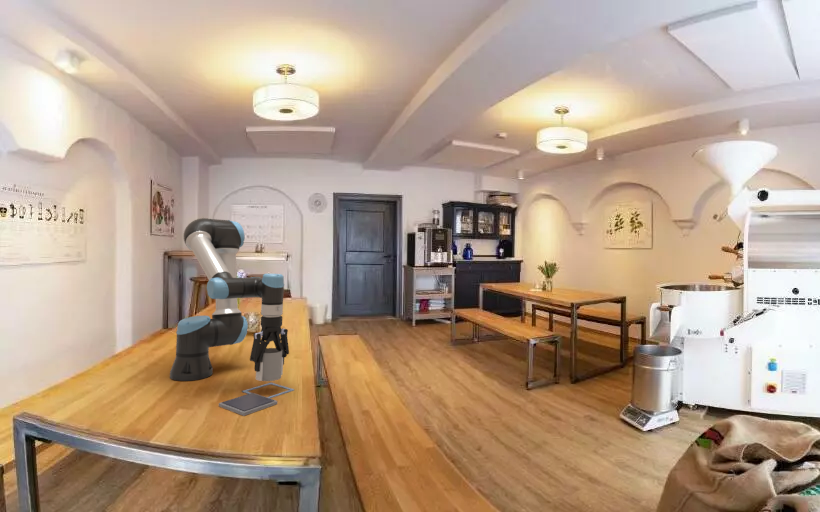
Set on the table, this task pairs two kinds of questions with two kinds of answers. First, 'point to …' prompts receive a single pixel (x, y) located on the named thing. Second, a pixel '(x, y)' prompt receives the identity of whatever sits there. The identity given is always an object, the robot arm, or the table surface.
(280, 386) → the marked square
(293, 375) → the table surface
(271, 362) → the cup
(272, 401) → the pad
